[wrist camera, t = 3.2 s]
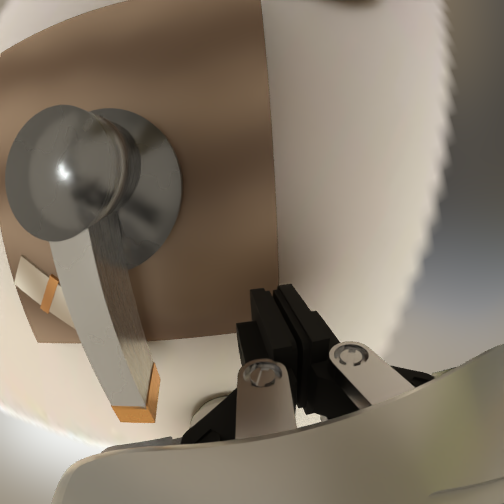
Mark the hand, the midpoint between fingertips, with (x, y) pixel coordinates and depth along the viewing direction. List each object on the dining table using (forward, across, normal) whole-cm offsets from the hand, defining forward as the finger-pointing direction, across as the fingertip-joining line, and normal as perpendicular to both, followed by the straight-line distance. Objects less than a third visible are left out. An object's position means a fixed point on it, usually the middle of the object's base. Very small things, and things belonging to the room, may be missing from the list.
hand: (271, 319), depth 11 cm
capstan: (+2, +6, -3) cm, 7 cm away
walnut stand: (+4, +6, -7) cm, 10 cm away
